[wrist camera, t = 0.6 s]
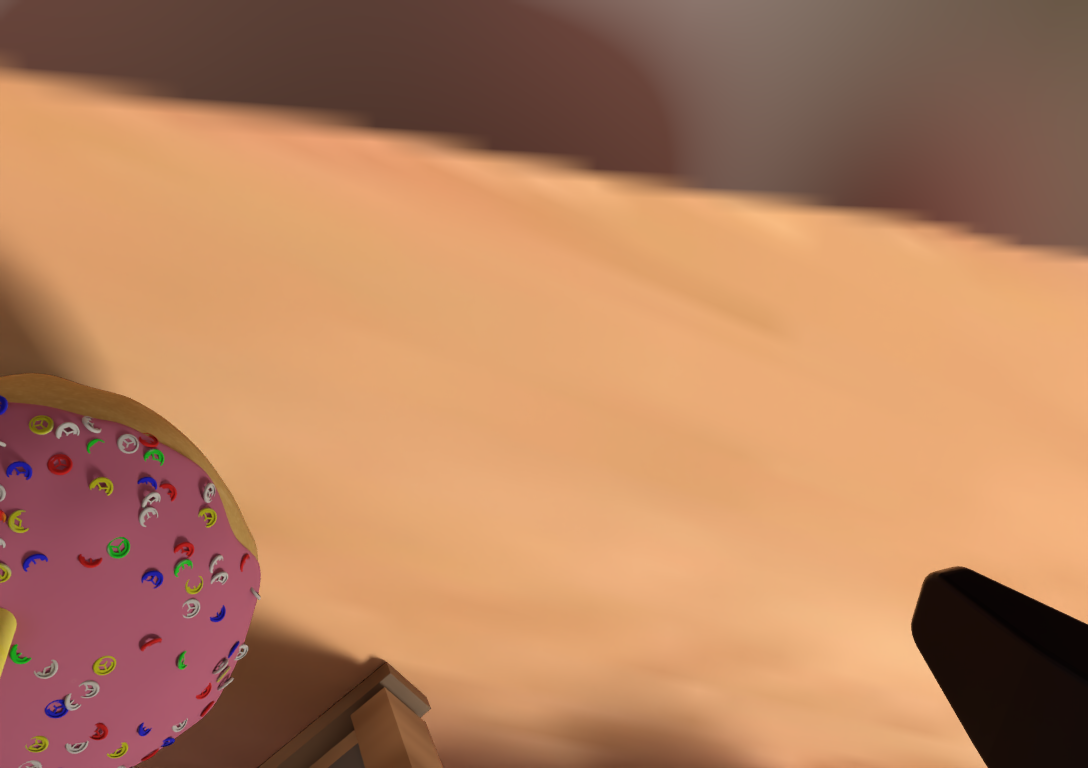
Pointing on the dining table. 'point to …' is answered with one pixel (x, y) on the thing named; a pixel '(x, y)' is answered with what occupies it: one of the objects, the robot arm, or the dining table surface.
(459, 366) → the dining table surface
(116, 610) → the cupcake
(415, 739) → the menu board
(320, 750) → the rail
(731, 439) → the dining table surface
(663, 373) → the dining table surface
